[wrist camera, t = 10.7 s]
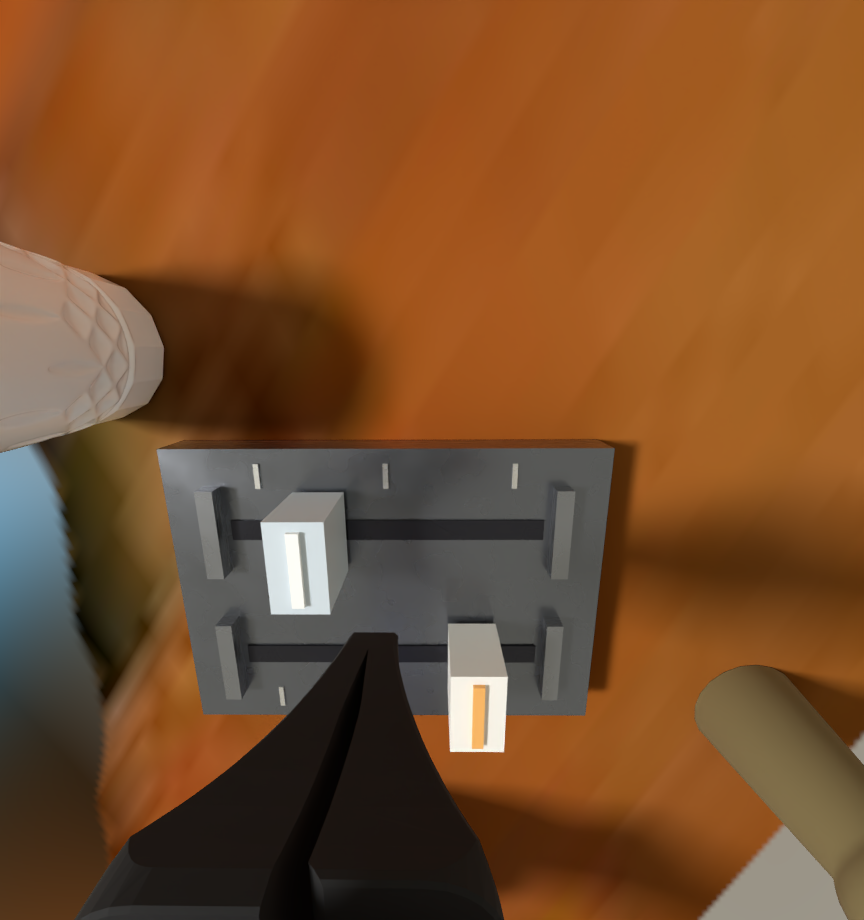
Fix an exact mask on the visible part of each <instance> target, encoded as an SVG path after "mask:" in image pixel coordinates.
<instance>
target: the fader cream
mask: <svg viewBox="0 0 864 920" xmlns="http://www.w3.org/2000/svg"><path fill="white" fill-rule="evenodd" d="M507 682H508V676H507V671H506V667H505V663H504V658H503V654H502V649H501V645H500V641H499V636H498V632H497V628H496V624H448V712H449V738H450V752H504V741H505V721H506V701H507Z"/></svg>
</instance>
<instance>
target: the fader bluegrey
mask: <svg viewBox="0 0 864 920" xmlns="http://www.w3.org/2000/svg"><path fill="white" fill-rule="evenodd" d="M260 523H261V532H262V540H263V549H264V557H265V566H266V575H267V583H268V592H269V600H270V609H271V614H331V612H332V609H333V607H334V604H335V602H336V599H337V597H338V594H339V592H340V590H341V587H342V585H343V582H344V580H345V577H346V575H347V572H348V556H347V540H346V523H345V507H344V492H292V493H291V494H290V495H289V496H288V497H287V498H286V499H285V500H283V501H282V502H281V503H280V504H279V505H278V506H277V507H276V508H275V509H274V510H273V511H272V512H271V513H270V514H269V515H268V516H267V517H266V518H264V519H263V520H262V521H261V522H260Z"/></svg>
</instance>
